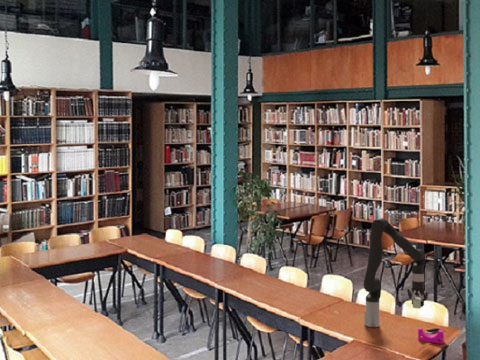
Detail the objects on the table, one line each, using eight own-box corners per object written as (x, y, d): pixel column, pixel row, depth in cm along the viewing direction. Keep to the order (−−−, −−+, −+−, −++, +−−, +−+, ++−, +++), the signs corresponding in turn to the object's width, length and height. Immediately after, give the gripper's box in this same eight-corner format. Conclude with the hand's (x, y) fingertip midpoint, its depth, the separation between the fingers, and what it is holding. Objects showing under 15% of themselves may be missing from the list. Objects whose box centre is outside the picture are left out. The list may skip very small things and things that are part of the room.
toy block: (443, 340, 350) (443, 329, 350) (442, 343, 344) (442, 332, 344) (419, 337, 356) (419, 326, 356) (418, 340, 351) (418, 329, 351)
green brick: (412, 307, 353) (412, 300, 353) (415, 304, 361) (415, 297, 360) (420, 308, 351) (420, 300, 350) (422, 305, 358) (422, 297, 358)
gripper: (405, 279, 357) (405, 305, 357) (426, 282, 348) (426, 308, 348) (409, 277, 363) (409, 302, 363) (431, 280, 353) (430, 306, 354)
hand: (417, 305), depth 356 cm, fingers closed on green brick, 5 cm apart
